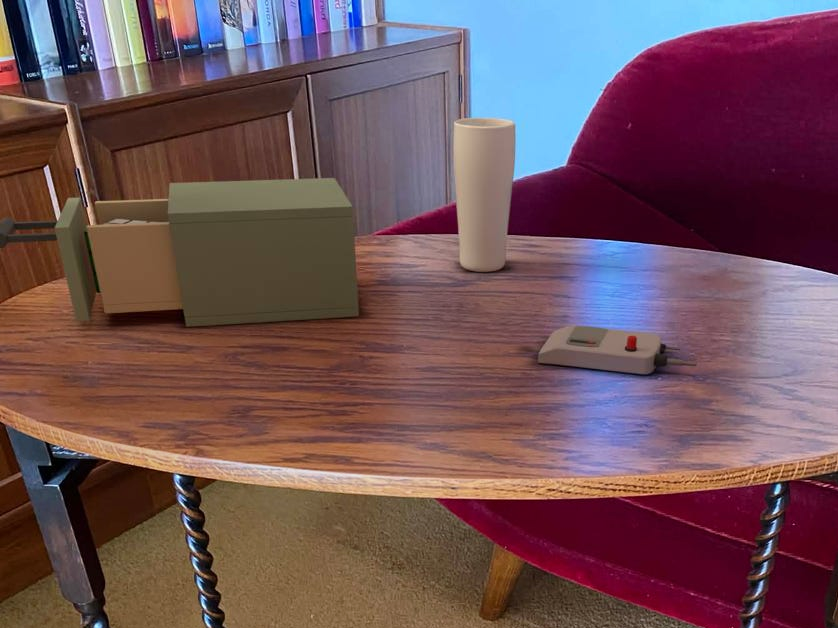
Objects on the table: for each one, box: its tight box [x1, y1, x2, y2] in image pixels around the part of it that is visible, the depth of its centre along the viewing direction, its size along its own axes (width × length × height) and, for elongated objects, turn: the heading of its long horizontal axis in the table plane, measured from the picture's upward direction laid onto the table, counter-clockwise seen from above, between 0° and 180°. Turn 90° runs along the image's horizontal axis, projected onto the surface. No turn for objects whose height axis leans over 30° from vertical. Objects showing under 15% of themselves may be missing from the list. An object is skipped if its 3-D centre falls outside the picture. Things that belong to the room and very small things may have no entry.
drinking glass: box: [452, 117, 516, 273], centre depth 107 cm, size 7×7×15 cm
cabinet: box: [168, 177, 360, 328], centre depth 97 cm, size 17×14×10 cm
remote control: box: [537, 324, 698, 375], centre depth 86 cm, size 7×16×3 cm, turn 74°
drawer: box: [0, 197, 183, 322], centre depth 94 cm, size 22×13×8 cm, turn 104°
